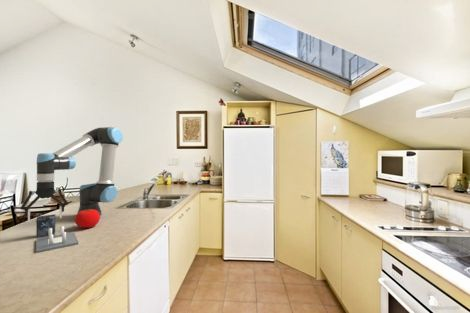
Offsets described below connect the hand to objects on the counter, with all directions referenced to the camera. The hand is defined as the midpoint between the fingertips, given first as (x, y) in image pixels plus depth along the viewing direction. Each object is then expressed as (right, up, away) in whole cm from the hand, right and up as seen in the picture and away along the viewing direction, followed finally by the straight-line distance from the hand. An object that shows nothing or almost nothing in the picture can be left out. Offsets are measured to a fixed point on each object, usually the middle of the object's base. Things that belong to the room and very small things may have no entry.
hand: (45, 219), depth 129 cm
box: (0, -9, +1) cm, 9 cm away
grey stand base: (+14, -9, -10) cm, 19 cm away
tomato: (+14, -9, +15) cm, 22 cm away
